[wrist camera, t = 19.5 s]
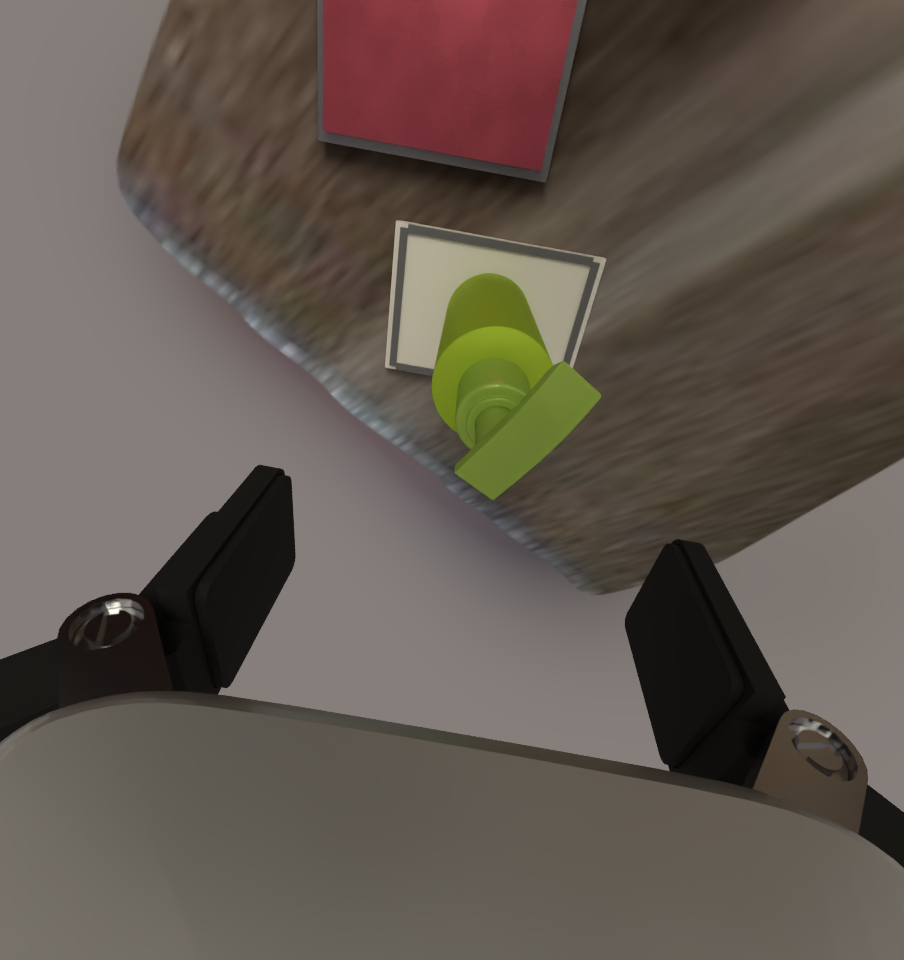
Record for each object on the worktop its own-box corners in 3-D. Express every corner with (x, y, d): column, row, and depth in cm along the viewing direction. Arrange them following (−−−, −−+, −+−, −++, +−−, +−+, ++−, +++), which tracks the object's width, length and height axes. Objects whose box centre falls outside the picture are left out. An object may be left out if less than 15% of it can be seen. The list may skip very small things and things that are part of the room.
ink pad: (324, -71, 24) (312, -88, 22) (589, -21, 24) (595, -34, 23) (324, 142, 29) (314, 139, 27) (544, 182, 29) (546, 182, 27)
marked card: (398, 219, 31) (395, 220, 30) (604, 257, 31) (606, 259, 30) (387, 363, 36) (384, 368, 35) (562, 395, 36) (563, 400, 36)
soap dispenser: (557, 300, 32) (646, 438, 15) (490, 373, 35) (503, 554, 18) (494, 239, 30) (518, 322, 13) (429, 322, 33) (383, 473, 17)
